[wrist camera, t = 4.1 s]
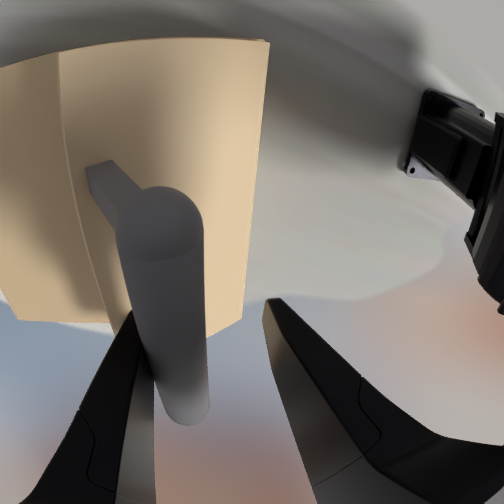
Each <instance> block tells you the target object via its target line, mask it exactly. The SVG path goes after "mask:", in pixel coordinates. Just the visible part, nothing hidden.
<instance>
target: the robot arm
mask: <svg viewBox="0 0 504 504" xmlns="http://www.w3.org/2000/svg"><path fill="white" fill-rule="evenodd" d="M430 95H431V99H429V97H430ZM484 118H485V113H484V111H483V110H481V109H479V108H477V107H474V106H472V105H470V104H467V103H465V102H462V101H460V100H457V99H455V98H452V97H450V96H447V95H444V94H442V93H439V92H436V91H433V90H430V89H428V90H426V91H425V92H424V94H423V98H422V102H421V107H420V111H419V115H418V119H417V123H416V127H415V131H414V135H413V138H412V142H411V146H410V149H409V153H408V156H407V160H406V163H405V167H404V172H405V173H406V174H407V175H408V176H409V177H414V178H422V179H430V180H437V181H441V182H443V183H444V184H445V185H446V186H447V187H449V188H450V189H451V190H452V191H453V192H454V193H455V194H457V195H458V196H459V197H460V198H461V199H462V200H463V201H464V202H466V203H467V204H468V205H469V206H470V207H471V208H472V209H473V210H474V211H475V212H474V215H473V219H472V222H471V225H470V228H469V231H468V232H467V233H466V235H465V238H464V241H465V243H466V245H467V247H468V250H469V252H470V254H471V256H472V259H473V263H474V265H475V267H476V270H477V272H478V274H479V276H478V282H479V284H480V285H481V286H482V287H483V289H484V290H485V291H486V292H487V293H488V294H489V295H490V296H491V297H492V298H493V299H494V300H495V301H497V302H498V303H500V305H499V307H498V309H497V311H498V313H500V314H502V315H504V113H498V112H496V113H495V120H494V121H495V122H496V123H495V124H493V123H492V122H490V121H488V120H486V119H484ZM411 168H412V170H411V171H410V169H411ZM262 321H263V328H264V333H265V339H266V344H267V349H268V354H269V359H270V364H271V369H272V372H273V376H274V379H275V382H276V384H277V388H278V390H279V394H280V397H281V400H282V403H283V405H284V409H285V411H286V414H287V417H288V420H289V423H290V426H291V429H292V432H293V435H294V438H295V441H296V443H297V446H298V449H299V452H300V455H301V457H302V461H303V464H304V467H305V469H306V472H307V475H308V478H309V481H310V484H311V486H312V490H313V492H314V495H315V498H316V500H317V503H318V504H504V445H503V446H497V445H489V444H482V443H476V442H470V441H464V440H458V439H453V438H448V437H444V436H441V435H439V434H436V433H434V432H433V431H431V430H429V429H427V428H426V427H425V426H423V425H422V424H421V423H419V422H418V421H416V420H415V419H414V418H412V417H411V416H410V415H408V414H407V413H405V412H404V411H403V410H401V409H400V408H399V407H397V406H396V405H395V404H394V403H392V402H391V401H390V400H389V399H387V398H386V397H385V396H384V395H383V394H381V393H380V392H379V391H378V390H377V389H376V388H375V387H373V386H372V385H371V384H370V383H369V382H368V381H367V380H366V379H365V378H364V377H361V374H359V373H358V372H357V371H356V370H355V369H354V368H353V367H352V366H351V365H350V364H349V363H348V362H347V361H346V360H345V359H343V357H342V356H341V355H339V354H338V353H337V352H336V351H335V350H334V349H333V348H332V347H331V346H330V345H329V344H328V343H327V342H326V341H325V340H324V339H322V337H321V336H320V335H318V334H317V333H316V332H315V331H314V330H313V329H312V328H311V327H310V326H309V325H308V324H307V323H306V322H305V321H304V320H303V319H302V318H301V317H299V315H298V314H297V313H296V312H295V311H294V310H292V309H291V308H290V307H289V306H288V305H287V304H286V303H285V302H284V301H283V300H282V299H281V298H270V299H267V300H266V301H265V306H264V311H263V318H262ZM79 409H80V410H78V411H77V412H76V415H75V417H74V419H73V421H72V423H71V425H70V427H69V429H68V431H67V433H66V435H65V437H64V439H63V440H62V442H61V444H60V446H59V447H58V449H57V451H56V453H55V454H54V456H53V458H52V459H51V461H50V463H49V464H48V466H47V468H46V469H45V471H44V473H43V474H42V476H41V478H40V480H39V482H38V484H37V485H36V486H35V488H34V489H33V491H32V492H31V493H30V494H29V495H28V496H27V497H26V498H25V499H24V500H23V501H22V502H20V503H19V504H156V493H155V473H154V432H153V431H154V377H153V374H152V371H151V368H150V365H149V362H148V359H147V356H146V353H145V350H144V347H143V344H142V341H141V339H140V335H139V332H138V329H137V325H136V322H135V318H134V315H133V311H132V310H130V312H129V313H128V315H127V317H126V319H125V320H124V322H123V324H122V326H121V328H120V329H119V331H118V333H117V335H116V337H115V339H114V341H113V342H112V344H111V346H110V348H109V350H108V352H107V353H106V355H105V357H104V359H103V361H102V363H101V365H100V367H99V369H98V371H97V372H96V375H95V376H94V378H93V380H92V382H91V384H90V386H89V388H88V390H87V392H86V394H85V396H84V398H83V400H82V402H81V405H80V406H79Z"/></svg>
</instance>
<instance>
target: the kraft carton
mask: <svg viewBox="0 0 504 504" xmlns="http://www.w3.org/2000/svg"><path fill="white" fill-rule="evenodd" d="M177 38H212V39H235V40H249V41H261V42H265V40H264V39H253V38H239V37H216V36H181V37H158V38H144V39H133V40H124V41H116V42H108V43H101V44H95V45H89V46H83V47H78V48H73V49H68V50H63V51H58V52H54V53H50V54H45V55H42V56H38V57H34V58H31V59H27V60H24V61H20V62H17V63H14V64H11V65H8V66H5V67H2V68H0V288H1V290H2V292H3V294H4V296H5V298H6V300H7V301H8V303H9V305H10V307H11V309H12V310H13V312H14V314H15V315H16V317H17V319H18V320H29V321H50V322H83V323H110V321H109V319H108V316H107V313H106V310H105V308H104V305H103V302H102V299H101V296H100V293H99V290H98V287H97V284H96V281H95V278H94V274H93V271H92V268H91V264H90V261H89V258H88V254H87V250H86V247H85V243H84V239H83V236H82V232H81V228H80V224H79V220H78V215H77V211H76V207H75V202H74V197H73V193H72V188H71V182H70V177H69V172H68V166H67V160H66V154H65V147H64V140H63V132H62V124H61V115H60V105H59V92H58V76H57V53H59V52H64V51H69V50H74V49H79V48H85V47H91V46H97V45H104V44H112V43H120V42H129V41H140V40H154V39H177Z"/></svg>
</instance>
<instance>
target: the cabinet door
mask: <svg viewBox="0 0 504 504" xmlns="http://www.w3.org/2000/svg"><path fill="white" fill-rule="evenodd" d="M269 48H270V42H261V41H249V40H235V39H212V38H177V39H154V40H140V41H129V42H120V43H112V44H104V45H97V46H91V47H85V48H79V49H74V50H69V51H64V52H59V53H57V76H58V92H59V105H60V115H61V124H62V132H63V140H64V147H65V154H66V160H67V166H68V172H69V177H70V182H71V188H72V193H73V197H74V202H75V207H76V211H77V215H78V220H79V224H80V228H81V232H82V236H83V239H84V243H85V247H86V250H87V254H88V258H89V261H90V264H91V268H92V271H93V274H94V278H95V281H96V284H97V287H98V290H99V293H100V296H101V299H102V302H103V305H104V308H105V310H106V313H107V316H108V319H109V321H110V324H111V327H112V329H113V332H114V335H115V337H116V335H117V333H118V331H119V329H120V328H121V326H122V324H123V322H124V320H125V319H126V317H127V315H128V313H129V312H130V310H132V311H133V315H134V318H135V322H136V325H137V329H138V332H139V335H140V339H141V341H142V344H143V347H144V350H145V353H146V356H147V359H148V362H149V365H150V368H151V371H152V374H153V377H154V381H155V384H156V386H157V389H158V392H159V395H160V397H161V400H162V403H163V405H164V408H165V411H166V413H167V414H168V416H169V417H170V418H171V419H172V420H173V421H174V422H176V423H178V424H181V425H186V426H190V425H195V424H198V423H200V422H201V421H202V420H203V419H204V418H205V417H206V416H207V414H208V412H209V407H210V403H209V402H210V401H209V385H208V370H207V369H208V367H207V348H206V338H207V337H209V336H211V335H213V334H215V333H217V332H219V331H220V330H222V329H224V328H226V327H227V326H229V325H231V324H233V323H234V322H236V321H238V320H240V319H241V318H242V309H243V299H244V289H245V279H246V269H247V259H248V249H249V239H250V229H251V219H252V210H253V200H254V190H255V180H256V171H257V161H258V152H259V142H260V132H261V123H262V113H263V104H264V94H265V85H266V76H267V66H268V57H269Z"/></svg>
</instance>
